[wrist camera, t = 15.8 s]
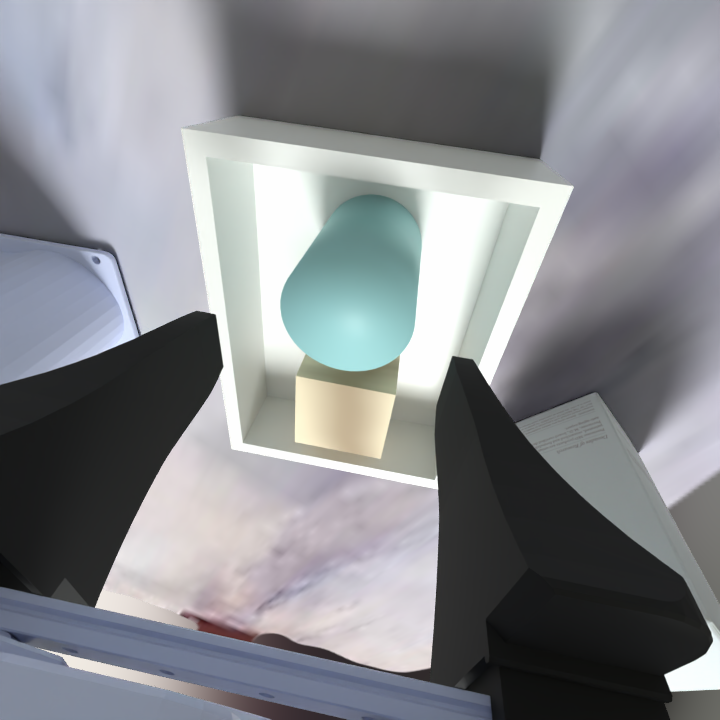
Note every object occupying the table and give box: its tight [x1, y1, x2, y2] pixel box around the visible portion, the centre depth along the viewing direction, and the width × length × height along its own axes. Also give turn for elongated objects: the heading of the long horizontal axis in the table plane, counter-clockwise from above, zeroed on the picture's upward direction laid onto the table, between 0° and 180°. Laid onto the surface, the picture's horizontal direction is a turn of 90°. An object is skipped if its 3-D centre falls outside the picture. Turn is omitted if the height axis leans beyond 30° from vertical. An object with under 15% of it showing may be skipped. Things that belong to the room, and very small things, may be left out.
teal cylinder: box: [280, 194, 422, 371], centre depth 17 cm, size 5×5×7 cm
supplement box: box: [515, 392, 720, 691], centre depth 21 cm, size 7×7×13 cm
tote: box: [181, 115, 574, 489], centre depth 20 cm, size 14×18×5 cm
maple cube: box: [295, 354, 400, 459], centre depth 22 cm, size 5×5×5 cm
